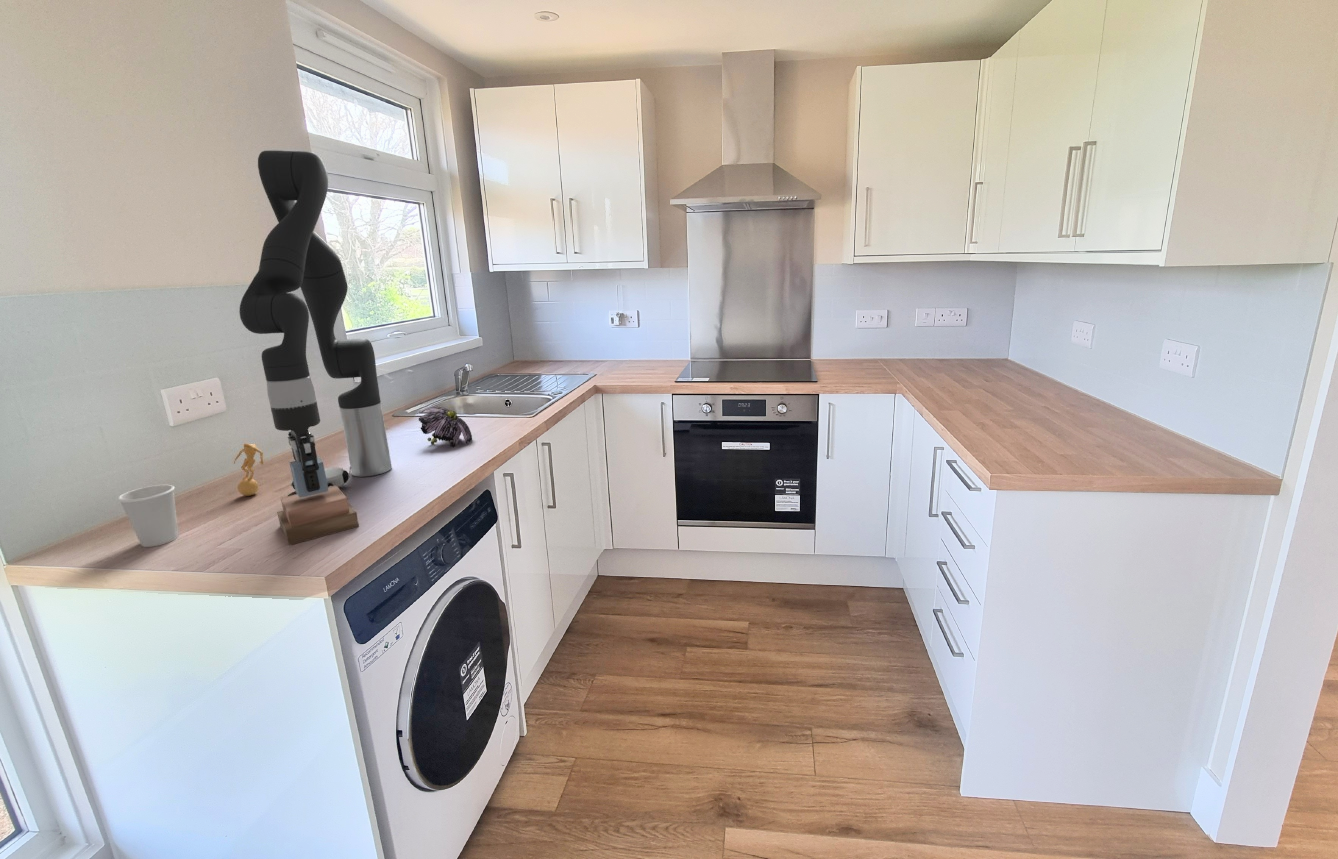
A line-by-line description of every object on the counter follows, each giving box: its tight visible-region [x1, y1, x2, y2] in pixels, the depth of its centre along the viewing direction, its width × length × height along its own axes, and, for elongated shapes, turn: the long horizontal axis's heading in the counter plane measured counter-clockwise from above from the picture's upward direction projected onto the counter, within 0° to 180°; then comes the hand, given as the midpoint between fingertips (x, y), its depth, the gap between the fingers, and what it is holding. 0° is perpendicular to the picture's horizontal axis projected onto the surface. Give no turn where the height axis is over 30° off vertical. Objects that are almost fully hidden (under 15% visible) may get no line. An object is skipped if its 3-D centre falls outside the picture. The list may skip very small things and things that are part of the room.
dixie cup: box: [117, 484, 179, 548], centre depth 117 cm, size 8×8×10 cm
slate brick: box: [288, 456, 329, 498], centre depth 119 cm, size 5×5×6 cm
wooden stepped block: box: [276, 485, 360, 546], centre depth 121 cm, size 12×12×6 cm
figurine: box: [233, 442, 264, 497], centre depth 141 cm, size 8×6×12 cm
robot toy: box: [286, 465, 352, 497], centre depth 139 cm, size 12×4×15 cm
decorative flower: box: [418, 406, 473, 448], centre depth 176 cm, size 15×12×15 cm
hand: (311, 486), depth 120 cm, fingers closed on slate brick, 5 cm apart
